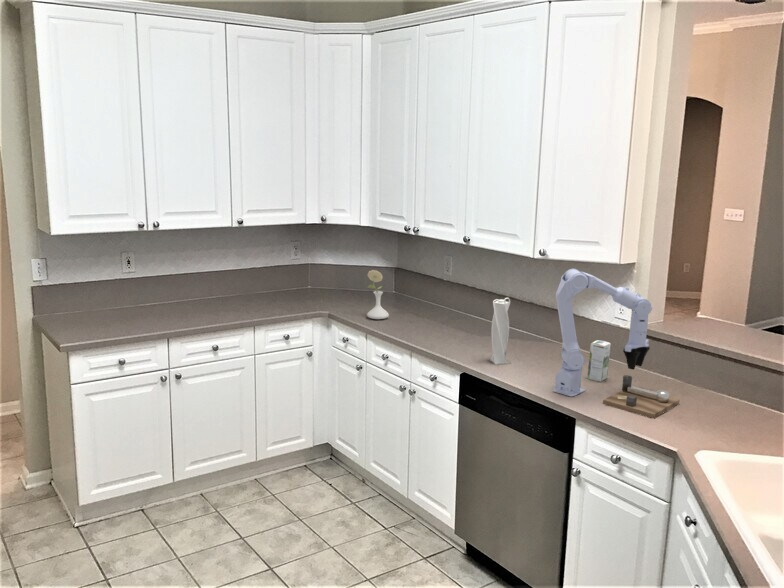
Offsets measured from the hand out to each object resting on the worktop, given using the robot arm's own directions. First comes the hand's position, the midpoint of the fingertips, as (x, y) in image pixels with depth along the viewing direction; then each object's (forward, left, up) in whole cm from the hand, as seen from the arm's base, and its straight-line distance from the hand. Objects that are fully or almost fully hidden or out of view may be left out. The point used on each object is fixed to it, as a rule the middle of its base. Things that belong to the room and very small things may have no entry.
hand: (634, 367), depth 241 cm
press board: (-9, -8, -9) cm, 15 cm away
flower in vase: (+7, +142, -10) cm, 142 cm away
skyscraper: (-7, +54, -10) cm, 55 cm away
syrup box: (+4, +16, -10) cm, 19 cm away
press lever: (-5, -7, -8) cm, 11 cm away
